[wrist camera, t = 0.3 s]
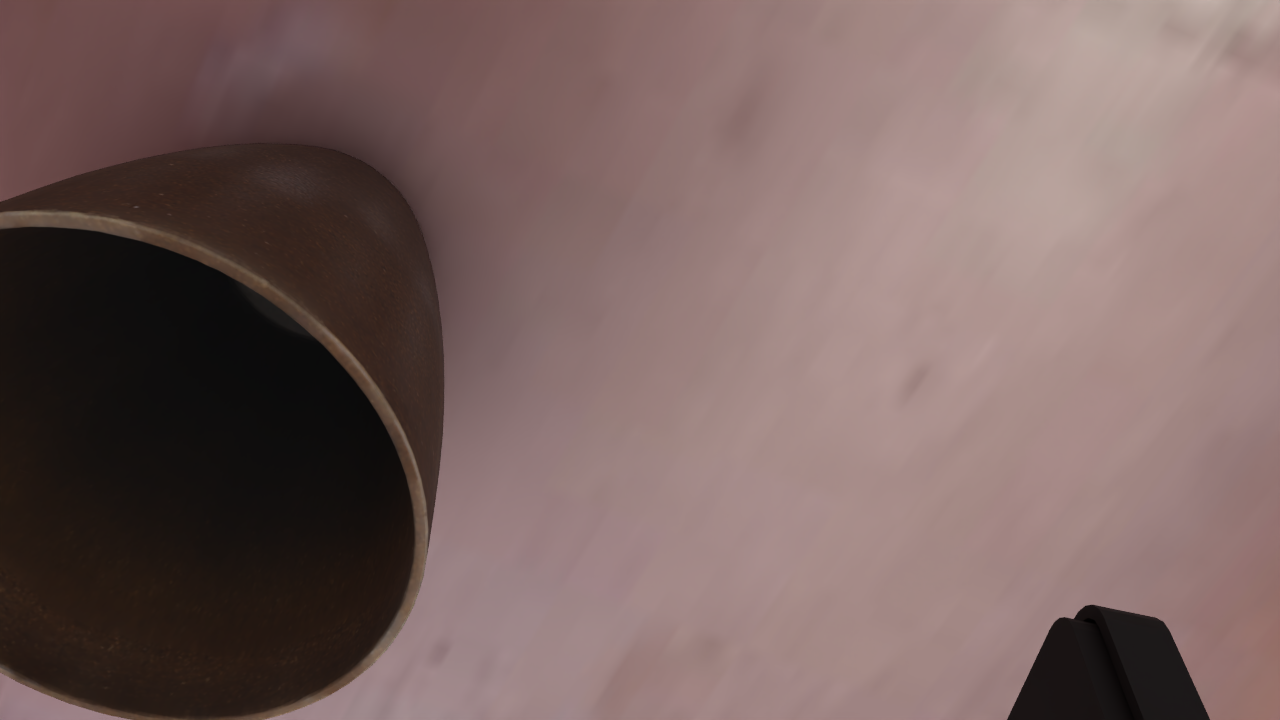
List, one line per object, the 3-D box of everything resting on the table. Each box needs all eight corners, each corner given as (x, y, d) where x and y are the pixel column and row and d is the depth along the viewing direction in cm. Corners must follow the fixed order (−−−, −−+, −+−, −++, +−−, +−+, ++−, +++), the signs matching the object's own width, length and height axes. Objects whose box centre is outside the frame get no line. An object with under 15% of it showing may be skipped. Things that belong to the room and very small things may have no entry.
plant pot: (350, -59, 37) (109, 79, 23) (615, 303, 43) (548, 593, 29) (37, 179, 42) (-318, 411, 28) (310, 478, 48) (126, 797, 34)
